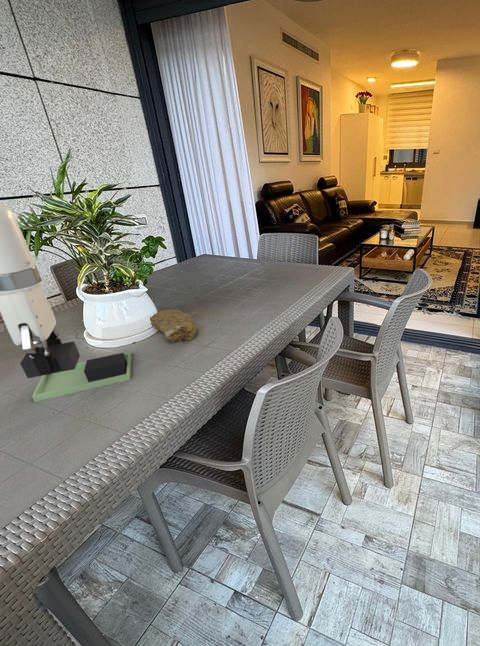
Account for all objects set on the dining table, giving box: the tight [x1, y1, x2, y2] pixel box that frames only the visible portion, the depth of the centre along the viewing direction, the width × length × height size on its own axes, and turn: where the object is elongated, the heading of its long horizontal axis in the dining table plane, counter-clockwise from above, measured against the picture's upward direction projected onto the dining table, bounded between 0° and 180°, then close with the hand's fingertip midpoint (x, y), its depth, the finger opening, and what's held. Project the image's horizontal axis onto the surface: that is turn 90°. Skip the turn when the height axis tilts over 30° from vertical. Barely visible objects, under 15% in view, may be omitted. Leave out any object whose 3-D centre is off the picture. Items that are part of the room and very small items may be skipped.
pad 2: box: [84, 352, 127, 382], centre depth 95 cm, size 9×6×4 cm, turn 114°
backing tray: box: [31, 351, 133, 403], centre depth 94 cm, size 21×13×2 cm, turn 113°
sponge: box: [150, 308, 197, 343], centre depth 116 cm, size 13×8×20 cm
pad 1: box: [19, 341, 81, 379], centre depth 71 cm, size 8×6×4 cm
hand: (54, 363), depth 71 cm, fingers closed on pad 1, 6 cm apart
